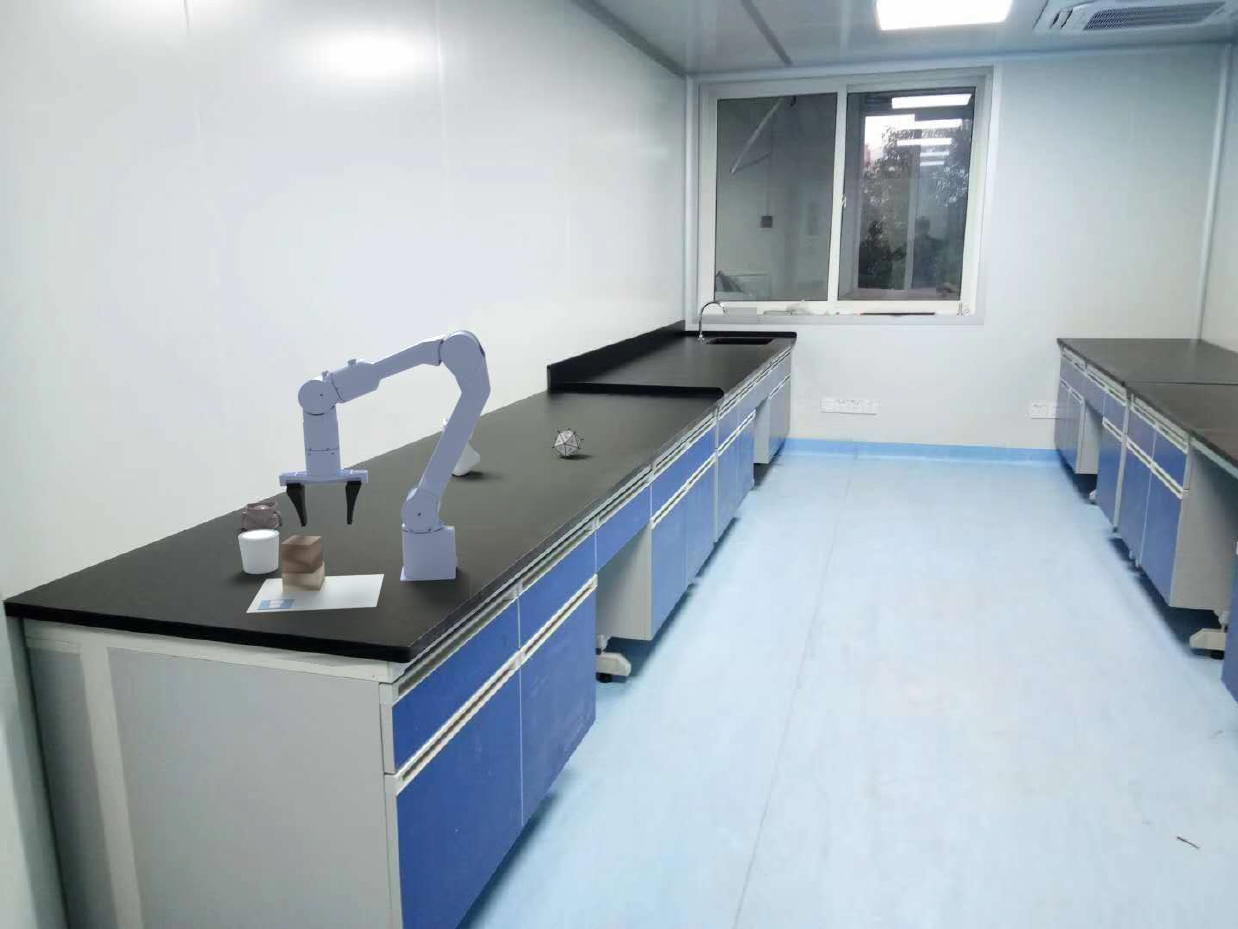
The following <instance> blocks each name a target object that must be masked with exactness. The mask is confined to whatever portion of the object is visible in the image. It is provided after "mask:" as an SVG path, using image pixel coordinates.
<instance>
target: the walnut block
mask: <svg viewBox="0 0 1238 929" xmlns="http://www.w3.org/2000/svg"><path fill="white" fill-rule="evenodd" d="M322 538H323V537H322V536H320V535H319V536H317V535H292V536H289V538H287V539H286V540H284V541H283V542H282V543H280V555H281V556H280V557H281V571H282V573H305V574H312V573H313V572H314V571H315V570H317V569H318V568H319V567H320V566H322V565H323V562H324V558H323V557H324V556H323V543H322V542H323V541H322Z"/></svg>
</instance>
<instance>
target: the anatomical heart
mask: <svg viewBox="0 0 1238 929" xmlns="http://www.w3.org/2000/svg"><path fill="white" fill-rule="evenodd" d="M449 419H450V417H449V418H448V417H444V418H443V419H442V425H441V426H440V427H441V429H442V433H443V432H444V430H445V428H446V425H447V423H448V421H449ZM474 430H475V428H474V429H473V431H472V433H471V435H470V437H469V439H468V442H467V444H466V446H465V448H464V450H463V452H462V454H461V456H460V458H459V460H458V463H457V465H456V467H455V469H454V471H453V473H452V475H454V476H457V477H461V475H462V476H464V475H466V474H468V473H469V472H470V471H472V470H473V469H474V468H475V467H476V466H478V464H479V463H480V462H481V456H480V454H479V453H478V452H477V451H475V450H474V449H473V447H472V446H471V445H470V443H469V441H470V440H471V439H472V438H473V435H474V432H475V431H474Z"/></svg>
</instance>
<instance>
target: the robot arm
mask: <svg viewBox="0 0 1238 929" xmlns="http://www.w3.org/2000/svg"><path fill="white" fill-rule="evenodd" d="M445 337H446V339H445ZM442 363H443V365H444V366H445V367H446V368H447V369H448V370H449V372H450V373H451V374H452V375H453V376H454V378H455V380H456V382H457V385H458V387H459V389H460V392H461V394H460V396H459V398H458V400H457V402H456V404H455V407H454V408H453V411H452V413H451V415H450V417H449V421H448V423H447V425H446V428H445V430H444V432H443V431H442V434H441V436H440V438H439V440H438V443H437V445H436V447H435V449H434V451H433V453H432V455H431V458H430V460H429V462H428V463H427V466H426V468H425V470H424V472H423V474H422V476H421V479H420V481H419V482H418V484H416V485H415V486H414V487H412V488H411V489H410V490H409V492H408V493H407V496H406V500H405V501H404V503H403V505H402V506H401V510H400V518H401V521H402V522H403V523H402V524H401V535H402V536H401V539H402V540H401V541H402V542H401V543H402V559H403V560H402V562H403V566H402V569H401V572H400V573H401V574H400V579H399V581H401V582H409V581H410V582H412V581H413V582H414V581H415V582H417V581H433V580H434V581H435V580H436V581H437V580H438V581H440V580H454V579H456V574H457V573H456V570H457V567H458V556H456V530H455V529H456V528H455V526H454V525H445V524H444V521H443V520H442V519H441V518H440V516H439V512H440V510H441V508H442V505H443V503H442V502H443V495H444V494H445V493H444V492H445V490H446V488H447V486H448V483H449V481H450V480H451V477H452V475H453V471H454V469H455V467H456V465H457V463H458V460H459V458H460V456H461V454H462V452H463V450H464V448H465V446H466V444H467V442H468V439H469V437H470V435H471V433H472V431H473V429H474V430H475V428H476V425H477V422H478V420H479V418H480V416H481V414H482V412H483V410H484V408H485V406H486V403H487V401H488V400H489V397H490V394H491V383H490V382H491V381H490V377H489V371H488V369H489V368H488V364H487V358H486V352H485V350H484V348H483V346H482V344H481V342H480V340H479V339H478V337H477V336H476V334H474V333H473V332H471V331H469V330H465V329H458V330H455V331H453V332H451V333H450V334H449V335H448V336H447V333H446V334H441V335H437V336H434V337H430V338H427V339H423V340H421V341H419V342H417V343H414V344H412V345H410V346H408V347H405V348H404V349H401V350H399V351H397V352H395V353H392V354H390V355H387V356H386V357H383V358H382V359H381V358H380V359H379V360H376V361H370V360H368V359H365V358H360V359H357V358H356V357H353V358H350V359H349V360H348V361H347V364H346V365H344V366H342V367H338V368H337V369H334V370H331V371H329V370H328V369H327V370H324V371H321V376H316V377H313V378H311V379H309V380H308V381H306V382H305V383H303V385H301V387H300V388H299V390H298V394H297V399H298V400H297V402H298V404H299V406H300V407H301V408H302V416H303V418H302V420H303V422H302V428H303V429H302V430H303V442H304V458H305V468H306V470H302V471H300V470H299V471H293V472H281V473H280V474H278V480H279V481H278V482H279V487H286V489H285V493H286V495H287V496H288V498H289V499H290V501H291V503H292V504H293V506H294V508H295V510H296V513H297V516H298V519H299V522H300V526H301V527H302V528H304V527H306V526H307V524H308V514H307V509H306V489H305V488H306V485H323V484H324V485H327V484H329V485H330V484H346V485H345V487H344V490H345V499H346V523H347V524H346V525H348V526H349V525H352V524H353V521H354V520H353V517H354V516H353V515H354V511H355V510H354V509H355V505H356V501H357V499H358V495H359V492H360V490H361V488H362V486H363V484H367V483H368V482H369V473H368V470H367V469H343V468H341V467H342V465H341V453H340V438H339V437H340V436H339V422H338V418H337V417H338V414H337V406H336V405H337V404H345V403H348V402H350V401H353V400H354V399H358V398H360V397H362V396H364V395H367V394H370V393H371V392H375V391H377V389H378V388H379V385H380V383H381V380H383V379H386V378H389V377H391V376H394V375H396V374H399V373H402V372H404V371H407V370H409V369H413V368H416V367H418V366H420V365H424V364H425V365H429V366H434V367H440V365H441V364H442ZM469 440H470V439H469Z"/></svg>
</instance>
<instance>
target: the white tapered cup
mask: <svg viewBox="0 0 1238 929" xmlns="http://www.w3.org/2000/svg"><path fill="white" fill-rule="evenodd" d="M237 539H238V545H239V549H240V554H241V560H242V566H243V571H244V572H245V573H247V574H252V575H260V574H262V575H263V574H267V573H272V572H274V571H276V570H278V568H279V550H280V549H279V547H280V546H279V543H280V532H279V531H278V530H275V529H272V530H270V529H259V530H251V531H248V530H246V531H243V532H242V533H240V534H238V536H237Z"/></svg>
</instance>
